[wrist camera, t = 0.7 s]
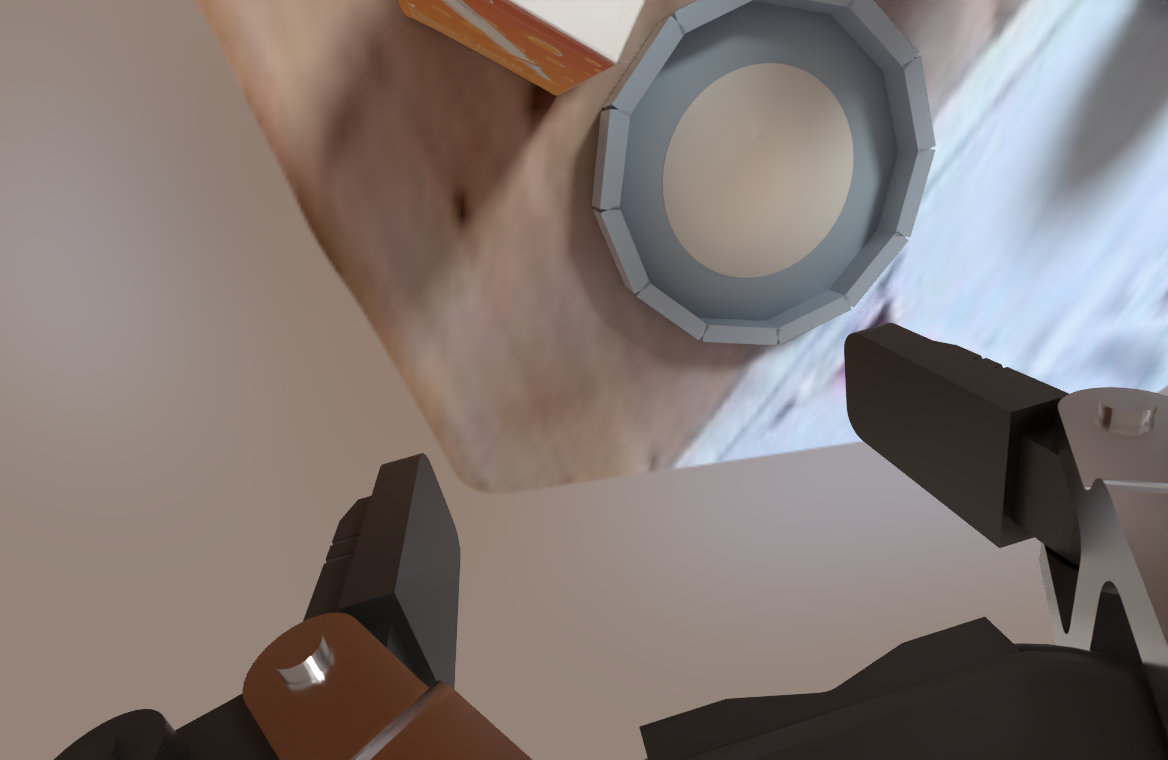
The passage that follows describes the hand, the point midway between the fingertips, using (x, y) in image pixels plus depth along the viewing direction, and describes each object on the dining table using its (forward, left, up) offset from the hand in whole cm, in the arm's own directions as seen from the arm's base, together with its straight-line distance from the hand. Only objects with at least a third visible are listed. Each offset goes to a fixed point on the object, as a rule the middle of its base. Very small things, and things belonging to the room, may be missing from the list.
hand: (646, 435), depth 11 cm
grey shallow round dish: (-10, +8, -23) cm, 26 cm away
